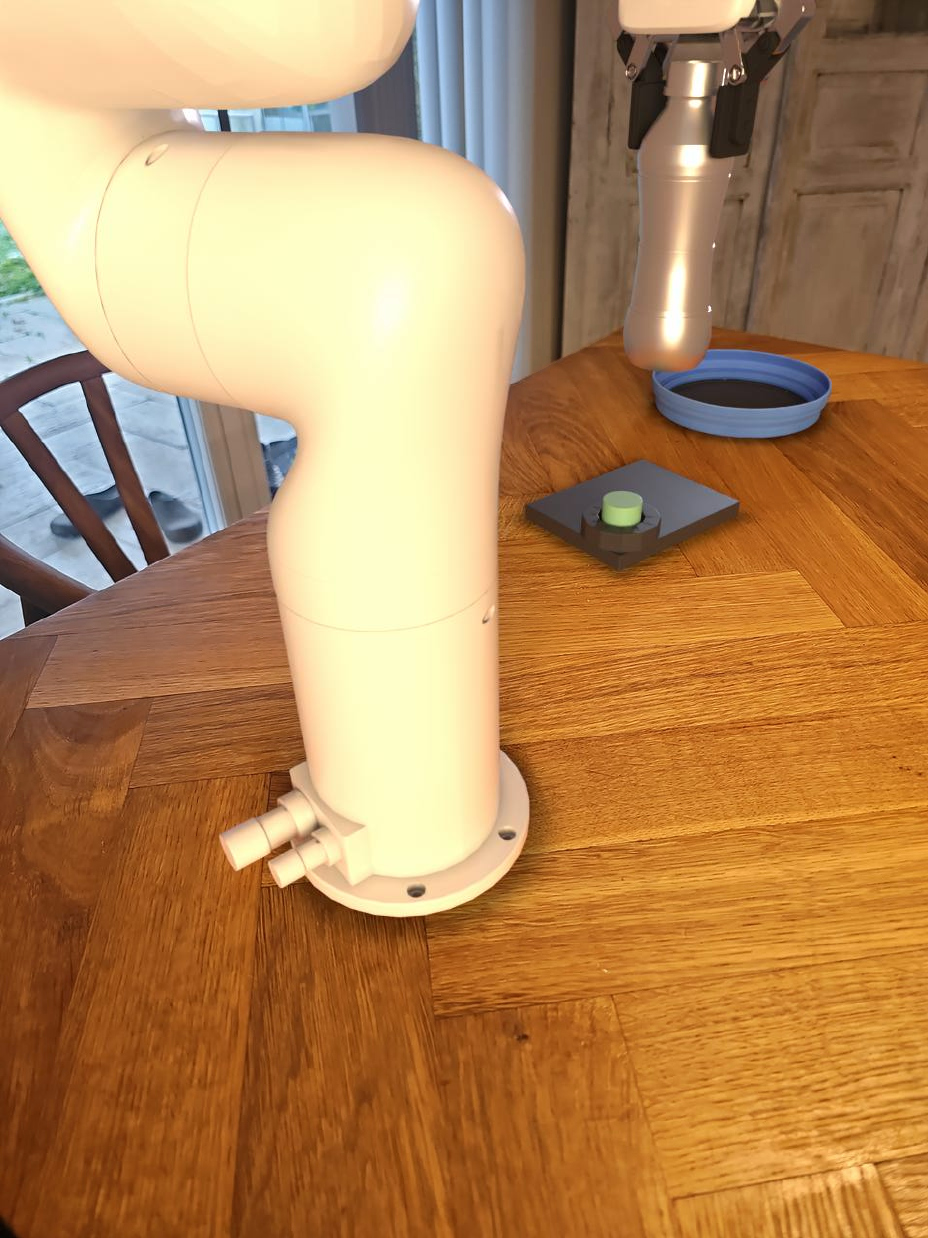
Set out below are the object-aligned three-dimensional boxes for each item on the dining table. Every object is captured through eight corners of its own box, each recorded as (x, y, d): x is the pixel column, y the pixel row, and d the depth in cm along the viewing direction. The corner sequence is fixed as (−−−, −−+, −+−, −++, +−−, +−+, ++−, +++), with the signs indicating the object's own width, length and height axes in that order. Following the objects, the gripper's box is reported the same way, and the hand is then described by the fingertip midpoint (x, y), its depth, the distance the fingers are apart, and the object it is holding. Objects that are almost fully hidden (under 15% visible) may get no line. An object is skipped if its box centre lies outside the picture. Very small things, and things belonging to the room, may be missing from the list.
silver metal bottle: (672, 389, 62) (711, 65, 51) (602, 367, 67) (624, 63, 55) (723, 368, 66) (771, 59, 54) (654, 348, 70) (685, 58, 58)
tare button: (621, 533, 64) (622, 512, 63) (593, 518, 66) (594, 498, 65) (648, 520, 65) (651, 500, 64) (620, 507, 67) (622, 486, 66)
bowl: (620, 420, 89) (623, 387, 87) (688, 369, 101) (692, 339, 99) (794, 457, 80) (801, 421, 78) (845, 397, 92) (853, 365, 90)
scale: (618, 576, 64) (621, 542, 62) (521, 520, 71) (521, 488, 70) (742, 518, 71) (748, 485, 69) (641, 472, 78) (644, 442, 77)
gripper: (569, -189, 51) (559, 147, 62) (820, -258, 40) (755, 169, 50) (655, -179, 55) (632, 137, 65) (908, -239, 43) (831, 156, 54)
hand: (686, 149), depth 58 cm, fingers closed on silver metal bottle, 6 cm apart
